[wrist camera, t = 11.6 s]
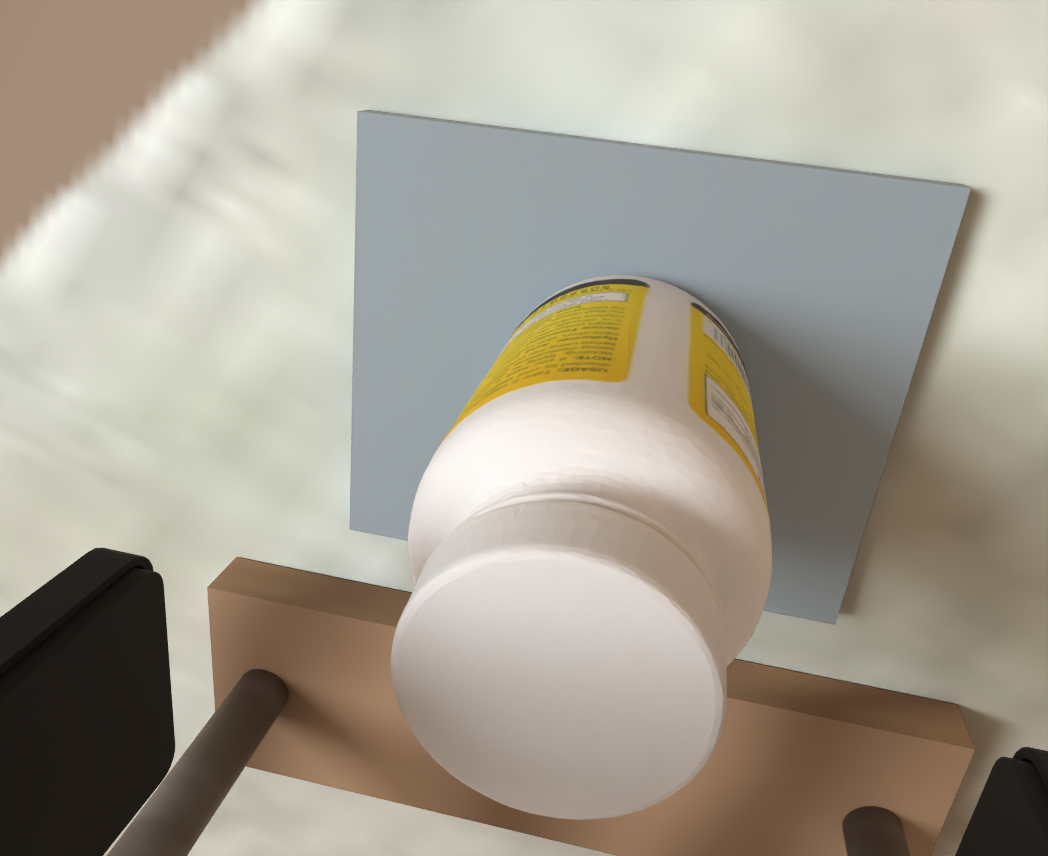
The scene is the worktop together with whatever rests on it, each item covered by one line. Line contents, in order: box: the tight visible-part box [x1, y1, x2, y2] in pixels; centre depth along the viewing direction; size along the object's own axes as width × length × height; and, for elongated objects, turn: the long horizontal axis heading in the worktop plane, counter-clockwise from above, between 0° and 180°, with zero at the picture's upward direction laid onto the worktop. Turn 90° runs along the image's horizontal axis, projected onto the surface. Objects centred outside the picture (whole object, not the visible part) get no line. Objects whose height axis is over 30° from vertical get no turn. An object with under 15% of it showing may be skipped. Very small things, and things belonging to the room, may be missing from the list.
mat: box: [350, 110, 971, 625], centre depth 19 cm, size 12×10×1 cm
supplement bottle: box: [391, 275, 772, 820], centre depth 14 cm, size 5×5×10 cm
